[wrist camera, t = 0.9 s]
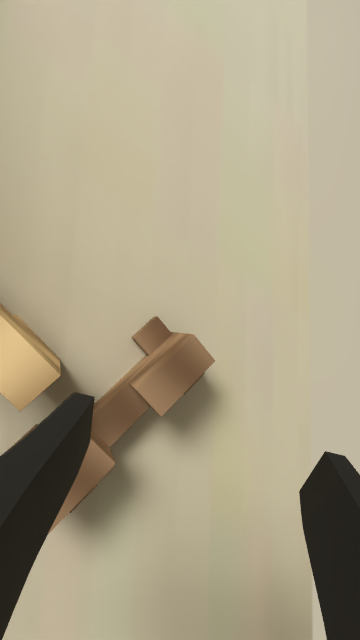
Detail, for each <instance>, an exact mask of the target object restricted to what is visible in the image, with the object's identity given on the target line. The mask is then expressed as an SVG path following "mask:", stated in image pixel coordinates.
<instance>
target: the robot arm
mask: <svg viewBox="0 0 360 640" xmlns="http://www.w3.org/2000/svg"><path fill="white" fill-rule="evenodd" d="M93 406H94V397H93V396H88V395H84V394H80V393H76V392H75V393H73V394H71V395H70V396H69V397H68V398H67V399H66V400H65V401H64V402H63V403H62V404H61V405H60V406H59V407H57V408H56V409H55V410H54V411H53V412H52V413H51V414H50V415H49V416H48V417H47V418H45V419H44V420H43V421H42V422H41V423H40V424H39V425H38V426H36V427H35V428H34V429H33V430H32V431H30V432H29V433H28V434H27V435H26V436H25V437H23V438H22V439H21V440H20V441H19V442H17V443H16V444H15V445H14V446H13V447H11V448H10V449H9V450H8V451H6V452H5V453H4V454H2V455H1V456H0V640H2V638H3V636H4V633H5V631H6V628H7V626H8V623H9V621H10V618H11V616H12V613H13V611H14V608H15V606H16V603H17V601H18V599H19V596H20V594H21V591H22V589H23V586H24V584H25V582H26V579H27V577H28V574H29V572H30V570H31V568H32V566H33V563H34V561H35V559H36V557H37V555H38V553H39V551H40V549H41V547H42V545H43V543H44V541H45V539H46V537H47V535H48V533H49V531H50V529H51V527H52V525H53V523H54V521H55V519H56V517H57V515H58V513H59V511H60V509H61V507H62V505H63V503H64V501H65V499H66V497H67V495H68V493H69V491H70V489H71V487H72V485H73V483H74V481H75V479H76V477H77V475H78V473H79V470H80V467H81V465H82V462H83V460H84V457H85V454H86V452H87V449H88V446H89V444H90V439H91V428H92V417H93ZM299 493H300V504H301V515H302V523H303V530H304V535H305V540H306V544H307V549H308V554H309V558H310V563H311V567H312V572H313V576H314V580H315V585H316V590H317V593H318V599H319V603H320V607H321V612H322V616H323V621H324V626H325V631H326V636H327V640H360V475H359V473H358V472H357V471H356V469H355V468H354V467H353V466H352V464H351V463H350V462H349V461H348V459H347V458H346V457H345V456H342V455H338V454H334V453H330V452H326V451H325V452H324V454H323V456H322V457H321V459H320V460H319V462H318V463H317V465H316V466H315V468H314V469H313V471H312V472H311V474H310V476H309V477H308V479H307V480H306V482H305V483H304V485H303V486H302V488H301V489H300V491H299Z"/></svg>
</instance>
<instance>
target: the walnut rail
mask: <svg viewBox="0 0 360 640" xmlns="http://www.w3.org/2000/svg"><path fill="white" fill-rule="evenodd" d="M132 338H133V340H134V341H135V342H136V343H137V344H138V345H139V346H140V347H141V349H142V350H143V351H144V352H145V353H146V354H147V355H146V356H145V357H144V358H143V359H142V360H141V361H140V362H139V363H138V364H137V365H135V366H134V367H133V368H132V369H131V370H130V371H129V372H128V373H127V374H126V375H125V376H124V377H123V378H122V379H121V380H120V381H119V382H118V383H116V384H115V385H114V386H113V387H112V388H111V389H110V390H109V391H108V392H107V393H106V394H105V395H104V396H103V397H102V398H101V399H100V400H99V401H98V402H96V403H95V404H94V406H93V417H92V428H91V439H90V444H89V446H88V449H87V452H86V454H85V457H84V460H83V462H82V465H81V467H80V470H79V473H78V475H77V477H76V479H75V481H74V483H73V485H72V487H71V489H70V491H69V493H68V495H67V497H66V499H65V501H64V503H63V505H62V507H61V509H60V511H59V513H58V515H57V517H56V519H55V521H54V523H53V525H52V527H51V529H50V531H49V533H50V532H51V531H52V530H53V529H54V528H55V526H56V525H57V524H58V523H59V522H60V521H61V520H62V519H63V518H64V517H65V516H66V515H67V514H68V513H69V512H70V513H71V512H72V511H73V510H74V509H75V508H76V507H77V505H78V504H79V503H80V502H81V501H82V500H83V499H84V498H85V497H86V496H87V495H88V494H89V493H90V492H91V491H92V490H93V489H94V488H95V487H96V486H97V483H98V482H99V481H100V480H101V479H102V478H103V477H104V476H105V475H106V474H107V473H108V471H109V470H110V469H111V468H112V467H113V466H114V465H115V464H116V462H115V460H114V457H113V455H112V452H111V450H110V447H111V446H112V445H113V444H114V442H115V441H116V440H117V439H118V438H119V437H120V436H121V435H122V434H123V433H124V432H125V431H126V430H127V429H128V428H129V427H130V426H131V425H132V424H133V423H134V422H135V421H136V420H137V419H138V418H139V417H140V416H141V415H142V414H143V413H144V412H145V411H146V410H147V409H148V408H149V407H152V408H153V409H154V410H155V411H156V412H157V413H158V414H159V415H160V416H161V417H162V415H163V414H164V413H165V412H166V411H167V410H168V409H169V408H170V407H171V406H172V405H173V404H174V403H175V402H176V401H177V400H178V399H179V398H180V397H181V396H182V395H183V394H185V393H186V392H187V391H188V390H189V389H190V388H191V387H192V386H193V385H194V384H195V383H196V382H197V381H198V380H199V379H200V378H201V377H202V376H203V375H204V374H205V371H206V370H207V369H208V368H209V367H210V366H211V365H212V364H213V363H214V362H215V360H214V359H213V357H212V356H211V355H210V354H209V353H208V351H207V350H206V349H205V348H204V346H203V345H202V344H201V343H200V342H199V340H198V339H197V338H196V337H195V336H194V335H193V334H184V333H174V332H170V331H169V330H168V329H167V327H166V326H165V325H164V324H163V323H162V321H161V320H160V319H159V318H158V317H154V318H153V319H151V320H150V321H149V322H148V323H147V324H146V325H145V326H144V327H143V328H142V329H140V330H139V331H138V332H137V333H136V334H135V335H134V336H133V337H132ZM36 426H38V425H37V424H36V425H35V426H34V427H33V428H32V429H31V430H30V431H32V430H33V429H34V428H35V427H36ZM30 431H29V432H30ZM29 432H28V433H29ZM28 433H26V434H25V435H24V436H23V437H25V436H26V435H27V434H28ZM23 437H22V438H23ZM22 438H21V439H22ZM21 439H20V440H21ZM20 440H19V441H20ZM19 441H18V442H19ZM15 444H16V443H15ZM15 444H14V445H15ZM14 445H13V446H14ZM13 446H12V447H13ZM49 533H48V534H49Z"/></svg>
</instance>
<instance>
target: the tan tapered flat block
mask: <svg viewBox="0 0 360 640" xmlns="http://www.w3.org/2000/svg"><path fill="white" fill-rule="evenodd" d="M59 376H61V371H60V359H59V358H58V357H57V356H56V355H55V354H54V353H53V352H52V351H51V350H50V349H49V348H48V347H47V345H46V344H45V343H44V342H43V341H42V340H41V339H40V338H39V337H38V336H37V335H36V334H35V333H34V332H33V331H32V330H31V329H30V328H29V327H28V326H27V325H26V324H25V323H24V322H23V321H22V320H21V319H20V318H19V317H18V316H17V315H11V314H10V313H9V312H8V311H7V310H6V309H5V307H4V306H3V305H2V304H1V303H0V393H1V394H2V395H3V396H4V397H6V398H7V399H8V400H9V401H10V402H11V403H12V404H13V405H14V406H15V407H16V408H17V409H18V410H20V411H21V410H22V409H23V408H24V407H26V406H27V405H28V404H29V403H30V402H31V401H32V400H33V399H35V398H36V397H37V396H38V395H39V394H40V393H41V392H42V391H44V390H45V389H46V388H47V387H48V386H49V385H50V384H52V383H53V382H54V381H55V380H56V379H57V378H58V377H59Z"/></svg>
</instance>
